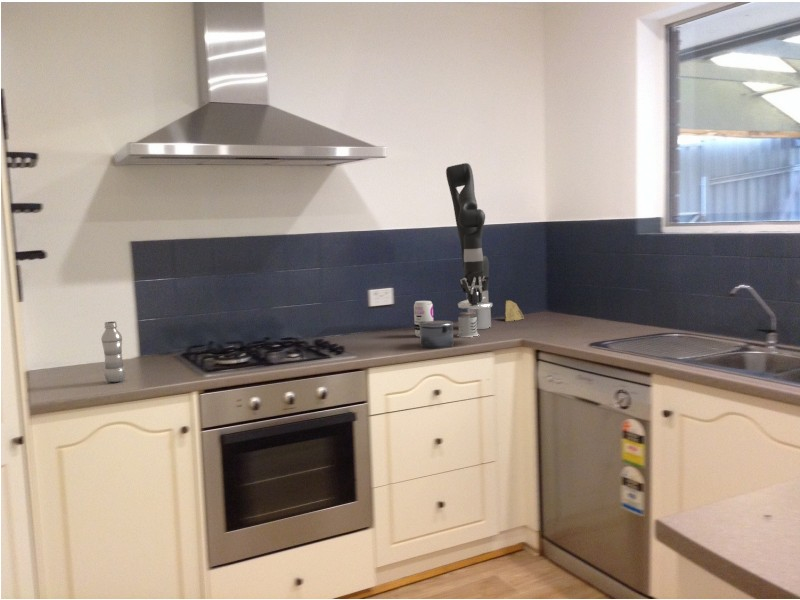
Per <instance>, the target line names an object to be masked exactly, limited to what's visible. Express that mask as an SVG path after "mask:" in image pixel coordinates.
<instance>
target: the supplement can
mask: <svg viewBox="0 0 800 600" xmlns="http://www.w3.org/2000/svg"><path fill="white" fill-rule="evenodd" d="M413 318H414V319H413V320H414V335H415V336H416V338H417V337H418V338H420V326H419V323H421V322H426V321H434V305H433V302H432V301H431V300H417V301H415V302H414V304H413Z"/></svg>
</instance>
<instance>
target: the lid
mask: <svg viewBox="0 0 800 600" xmlns="http://www.w3.org/2000/svg"><path fill="white" fill-rule="evenodd" d="M473 294H474V303H473V304H470V303H469V302H468V303H462V304H459V305H458V304H457V306H458V308H459V309H462V310H468V309H483V308H489V307H490V308H492V307H493V302H480V303H479V292H478V291H473Z"/></svg>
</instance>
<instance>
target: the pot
mask: <svg viewBox="0 0 800 600" xmlns="http://www.w3.org/2000/svg"><path fill="white" fill-rule="evenodd" d="M419 326H420V337H419V341H420V347H421V348H423V347H424V348H423V349H444V348H443V347H447V348H450V347H449V346H451V347H453V346H454V321H451V320H433V321H426V322H421V323H419ZM452 345H453V346H452Z"/></svg>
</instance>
